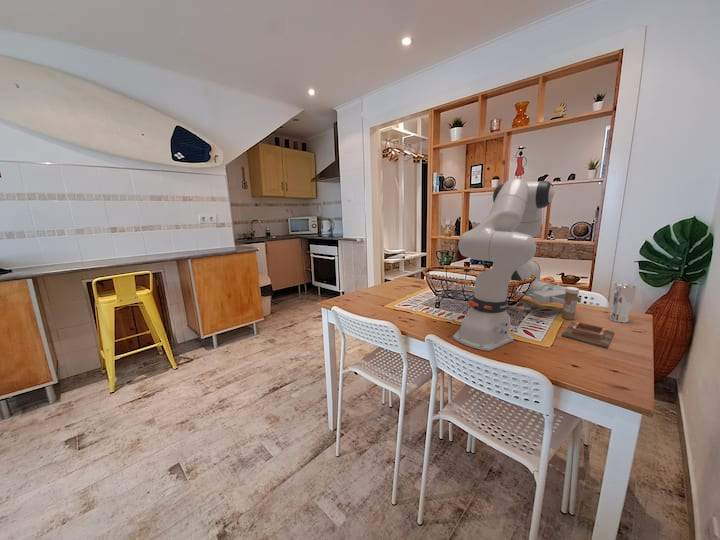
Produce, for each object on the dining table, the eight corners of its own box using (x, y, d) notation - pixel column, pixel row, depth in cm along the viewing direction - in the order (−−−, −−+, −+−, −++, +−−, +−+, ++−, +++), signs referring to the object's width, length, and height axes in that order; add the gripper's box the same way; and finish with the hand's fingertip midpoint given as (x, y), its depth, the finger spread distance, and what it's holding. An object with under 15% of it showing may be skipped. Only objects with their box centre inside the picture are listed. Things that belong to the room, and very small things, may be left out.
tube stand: (607, 348, 95) (608, 341, 94) (561, 336, 104) (562, 329, 104) (613, 333, 105) (615, 326, 105) (571, 323, 115) (572, 317, 114)
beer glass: (634, 323, 114) (642, 287, 111) (617, 323, 114) (624, 287, 111) (619, 316, 121) (626, 283, 118) (603, 316, 121) (609, 283, 118)
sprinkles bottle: (558, 316, 123) (563, 286, 120) (569, 316, 123) (574, 286, 120) (566, 320, 118) (571, 289, 115) (577, 320, 118) (582, 289, 115)
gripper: (525, 287, 127) (555, 296, 114) (559, 283, 133) (590, 291, 120) (524, 300, 128) (552, 311, 116) (557, 295, 134) (588, 305, 121)
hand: (572, 301), depth 118 cm, fingers open, 7 cm apart
